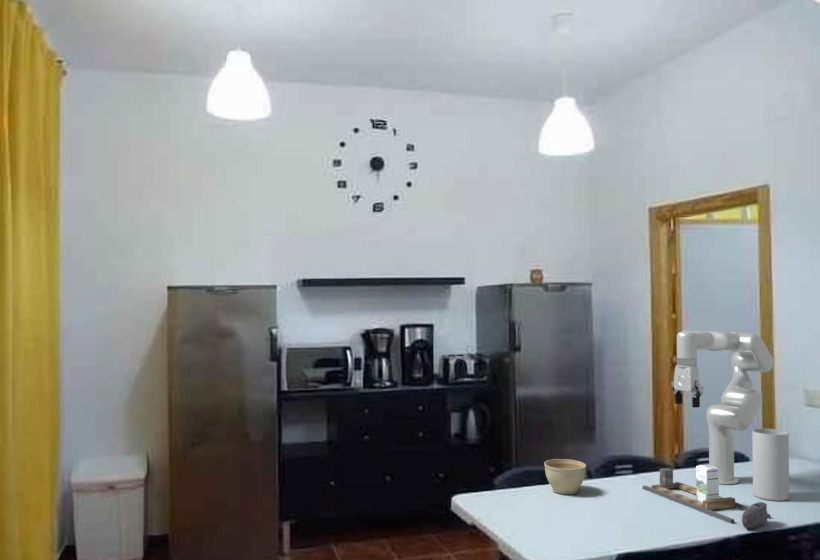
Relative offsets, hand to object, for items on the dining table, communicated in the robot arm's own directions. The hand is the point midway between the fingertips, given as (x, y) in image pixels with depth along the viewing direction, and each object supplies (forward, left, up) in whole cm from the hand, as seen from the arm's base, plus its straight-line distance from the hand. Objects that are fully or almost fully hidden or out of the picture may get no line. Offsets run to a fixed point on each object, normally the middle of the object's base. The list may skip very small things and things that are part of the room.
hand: (687, 405), depth 286 cm
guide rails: (+17, -8, -33) cm, 38 cm away
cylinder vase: (+20, +22, -34) cm, 45 cm away
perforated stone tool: (+44, -12, -34) cm, 57 cm away
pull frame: (+11, -8, -33) cm, 36 cm away
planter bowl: (-14, -48, -34) cm, 60 cm away
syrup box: (+21, -10, -34) cm, 41 cm away
